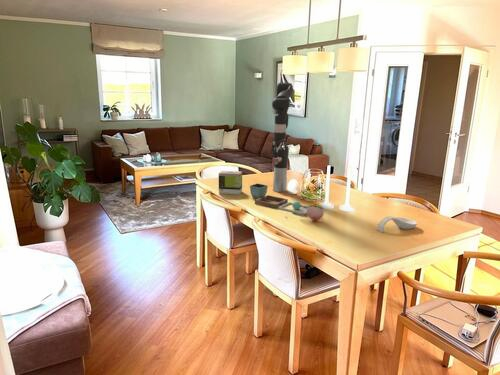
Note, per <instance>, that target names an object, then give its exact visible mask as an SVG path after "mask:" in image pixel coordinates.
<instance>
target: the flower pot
mask: <svg viewBox="0 0 500 375" xmlns="http://www.w3.org/2000/svg"><path fill="white" fill-rule="evenodd" d="M249 189H250V195H251V197H252V198H253V199H256V200H257V199H259V198H262V197H265V196H267V192H268V184H263V183H259V182H258V183H254V184H251V185H249Z"/></svg>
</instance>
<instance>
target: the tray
mask: <svg viewBox="0 0 500 375" xmlns="http://www.w3.org/2000/svg"><path fill="white" fill-rule="evenodd" d="M293 203H294V202H291V201H289V202H288V203H286V204H284V205H282V206H279V207H278V208H277V210H281V211H285V212H290V213H291V214H293V215H296V216H301V217H306V216H308V215H307V209H308V208H309V207H308V206H309V205H304V204H301V207H300V208H299V209H297V210H296V209H291V208H285V207H287V206H289V205H293Z"/></svg>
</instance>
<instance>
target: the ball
mask: <svg viewBox="0 0 500 375" xmlns="http://www.w3.org/2000/svg"><path fill="white" fill-rule="evenodd" d="M292 203H293V205H292V208H293V210H295V211H298V210H300V209H301V208H302V207H301V205H302V204H301V202H299V201H298V200H296V201H294V202H292Z"/></svg>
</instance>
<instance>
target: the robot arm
mask: <svg viewBox="0 0 500 375" xmlns="http://www.w3.org/2000/svg"><path fill="white" fill-rule="evenodd" d="M293 90H294V87H293V83H291V82H290V83H289V82H277V84H276V91H275V92H276V93H275V97H274V98H273V99H272V103H271V106H272V109H273V110H275V114H274V125H273V141H272V142H271V152H272V156H273V159H278V158H279V159H281V160H279V161H277V162H276V161H275V162H274V164H273V185H272V190H273V191H274V192H277V193H283V192H286V190H287V186H288V184H287V182H288V177H287V173H288V162H289V161H288V160H289V152H290V149H289V146H288V145H287V144H288V143H287V140H288V139H286V138H287V129H288V126H289V115H288V112H289V108H290V105H291V101H290V100H289V99H290V98H291V97H292V96H293Z"/></svg>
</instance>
